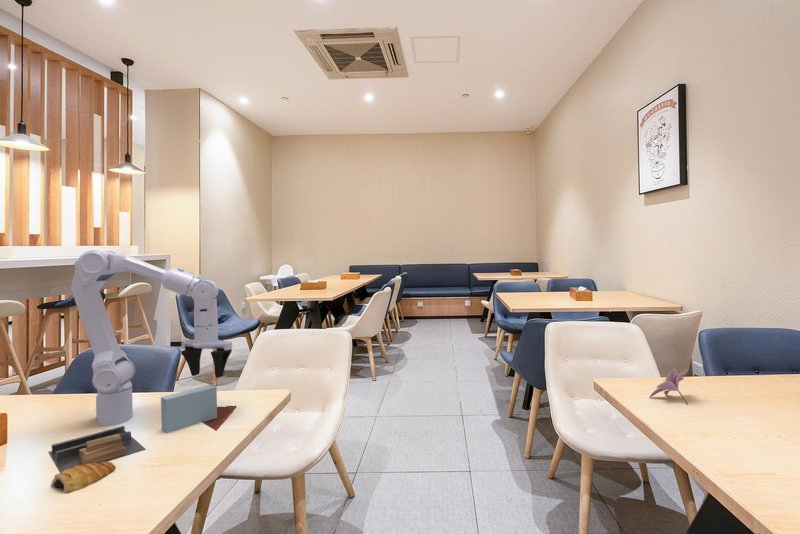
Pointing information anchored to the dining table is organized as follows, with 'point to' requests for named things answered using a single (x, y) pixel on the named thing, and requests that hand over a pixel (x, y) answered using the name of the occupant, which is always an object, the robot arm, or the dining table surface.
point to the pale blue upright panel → (188, 408)
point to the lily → (670, 383)
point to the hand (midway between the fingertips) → (207, 375)
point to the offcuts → (102, 449)
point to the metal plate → (68, 451)
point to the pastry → (82, 476)
